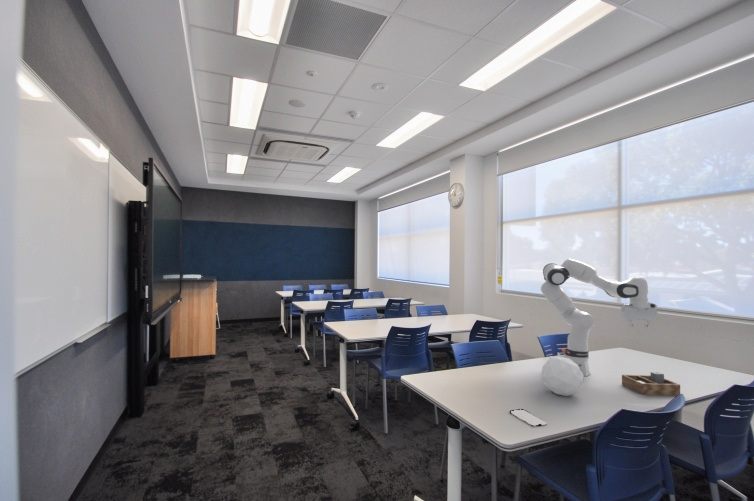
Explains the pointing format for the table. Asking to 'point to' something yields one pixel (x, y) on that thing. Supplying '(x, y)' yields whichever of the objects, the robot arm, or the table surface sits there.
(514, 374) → the table surface
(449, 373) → the table surface
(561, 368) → the geometric polyhedron
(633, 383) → the parts box
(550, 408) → the table surface
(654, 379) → the connector
